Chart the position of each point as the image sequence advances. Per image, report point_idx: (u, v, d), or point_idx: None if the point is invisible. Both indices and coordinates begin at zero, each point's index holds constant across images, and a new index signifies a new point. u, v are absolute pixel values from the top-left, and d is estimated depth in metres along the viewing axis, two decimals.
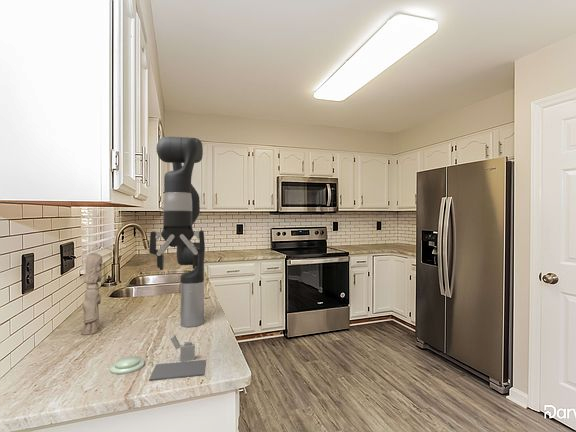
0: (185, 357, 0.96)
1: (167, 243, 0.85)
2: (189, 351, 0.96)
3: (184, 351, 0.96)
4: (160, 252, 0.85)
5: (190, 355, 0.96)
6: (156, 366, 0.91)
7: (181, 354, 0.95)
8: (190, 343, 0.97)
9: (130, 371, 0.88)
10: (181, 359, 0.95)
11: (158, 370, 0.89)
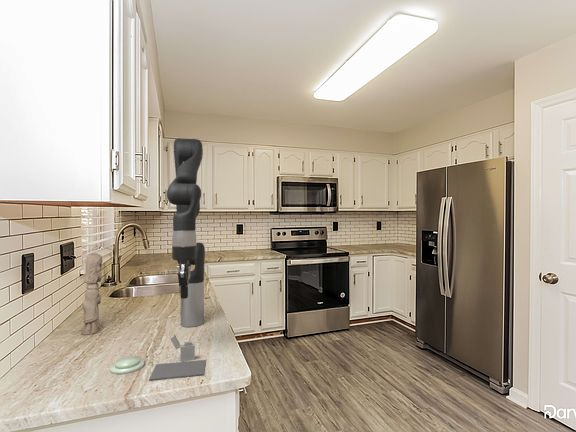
0: (185, 357, 0.96)
1: (189, 273, 1.03)
2: (189, 351, 0.96)
3: (184, 351, 0.96)
4: (188, 283, 1.03)
5: (190, 355, 0.96)
6: (156, 366, 0.91)
7: (181, 354, 0.95)
8: (190, 343, 0.97)
9: (130, 371, 0.88)
10: (181, 359, 0.95)
11: (158, 370, 0.89)
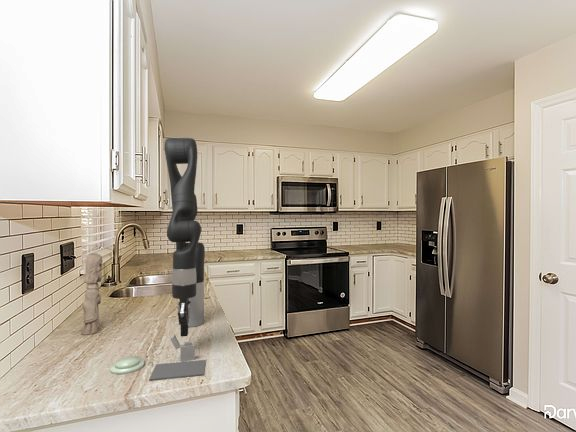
0: (185, 357, 0.96)
1: (189, 311, 1.02)
2: (189, 351, 0.96)
3: (184, 351, 0.96)
4: (188, 321, 1.03)
5: (190, 355, 0.96)
6: (156, 366, 0.91)
7: (181, 354, 0.95)
8: (190, 343, 0.97)
9: (130, 371, 0.88)
10: (181, 359, 0.95)
11: (158, 370, 0.89)
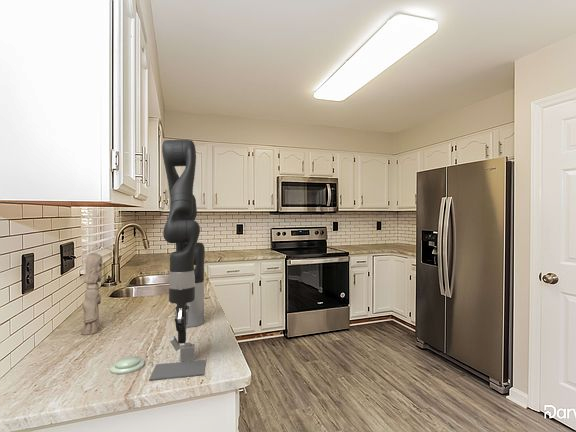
0: (185, 357, 0.96)
1: (187, 317, 0.96)
2: (189, 352, 0.96)
3: (184, 352, 0.95)
4: (186, 327, 0.97)
5: (190, 356, 0.96)
6: (156, 366, 0.91)
7: (181, 355, 0.95)
8: (190, 344, 0.96)
9: (130, 371, 0.88)
10: (181, 359, 0.95)
11: (158, 370, 0.89)
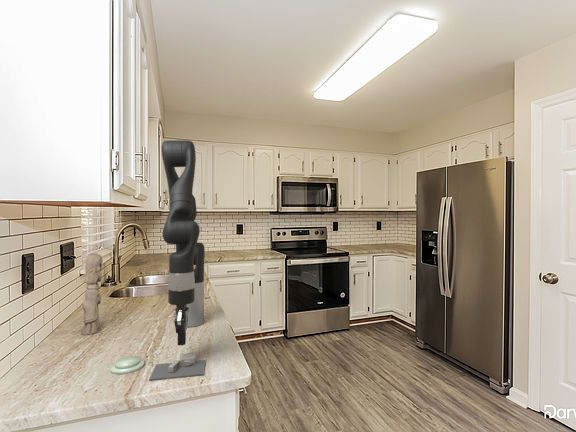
0: None
1: (187, 318, 0.95)
2: None
3: None
4: (185, 328, 0.96)
5: None
6: (156, 366, 0.91)
7: None
8: None
9: (130, 371, 0.88)
10: None
11: (158, 370, 0.89)
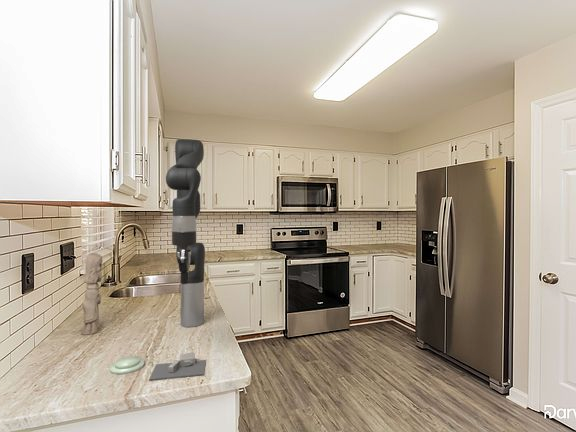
0: None
1: (189, 259, 1.02)
2: None
3: None
4: (188, 269, 1.03)
5: None
6: (156, 366, 0.91)
7: None
8: None
9: (130, 371, 0.88)
10: None
11: (158, 370, 0.89)
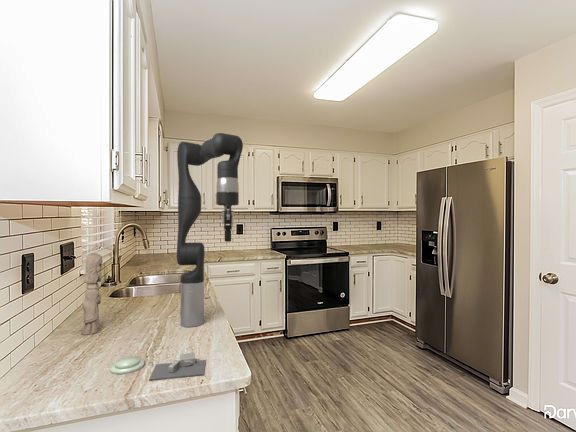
0: None
1: (232, 218, 1.10)
2: None
3: None
4: None
5: None
6: (156, 366, 0.91)
7: None
8: None
9: (130, 371, 0.88)
10: None
11: (158, 370, 0.89)
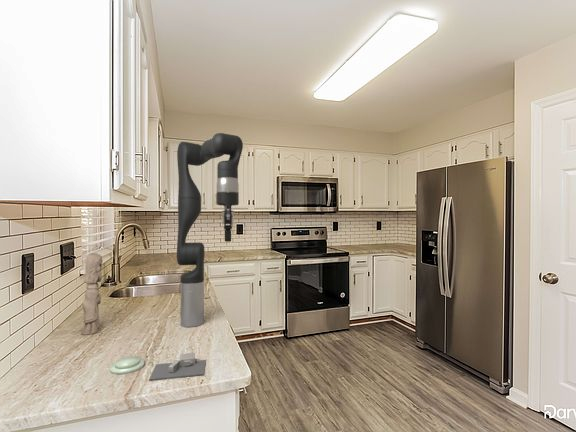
0: None
1: (232, 218, 1.10)
2: None
3: None
4: None
5: None
6: (156, 366, 0.91)
7: None
8: None
9: (130, 371, 0.88)
10: None
11: (158, 370, 0.89)
